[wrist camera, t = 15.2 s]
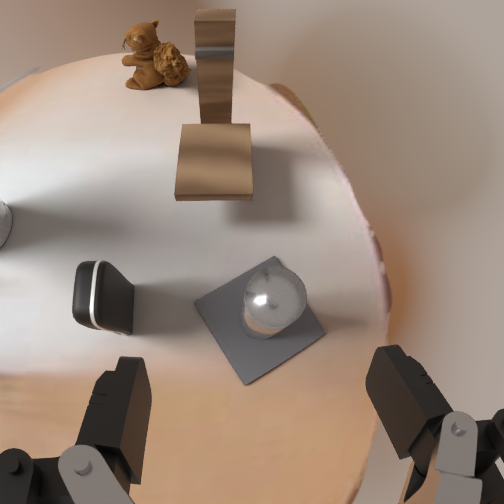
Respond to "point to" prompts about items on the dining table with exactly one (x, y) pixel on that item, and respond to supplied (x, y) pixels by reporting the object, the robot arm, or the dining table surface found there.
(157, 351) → the dining table surface
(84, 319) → the battery charger
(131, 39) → the stuffed squirrel
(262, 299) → the steel cylinder
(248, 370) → the felt pad
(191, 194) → the walnut standard
